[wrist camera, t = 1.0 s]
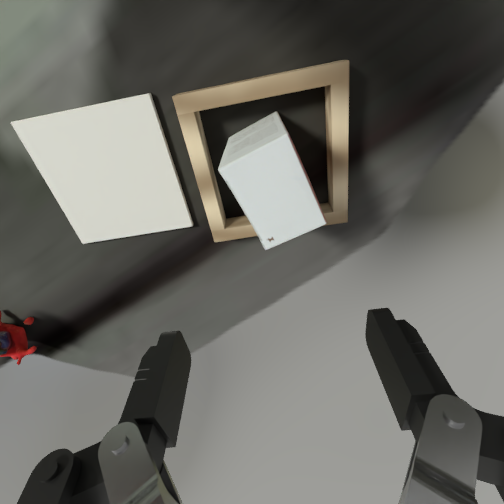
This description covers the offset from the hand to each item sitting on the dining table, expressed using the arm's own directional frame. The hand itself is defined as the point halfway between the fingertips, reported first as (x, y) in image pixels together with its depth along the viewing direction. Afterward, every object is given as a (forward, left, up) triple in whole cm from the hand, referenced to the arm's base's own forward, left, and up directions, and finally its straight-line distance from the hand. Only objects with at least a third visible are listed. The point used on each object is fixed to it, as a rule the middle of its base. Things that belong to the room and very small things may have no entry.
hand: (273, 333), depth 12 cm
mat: (-2, -16, -22) cm, 27 cm away
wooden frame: (-1, +1, -22) cm, 22 cm away
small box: (-1, +1, -22) cm, 22 cm away
